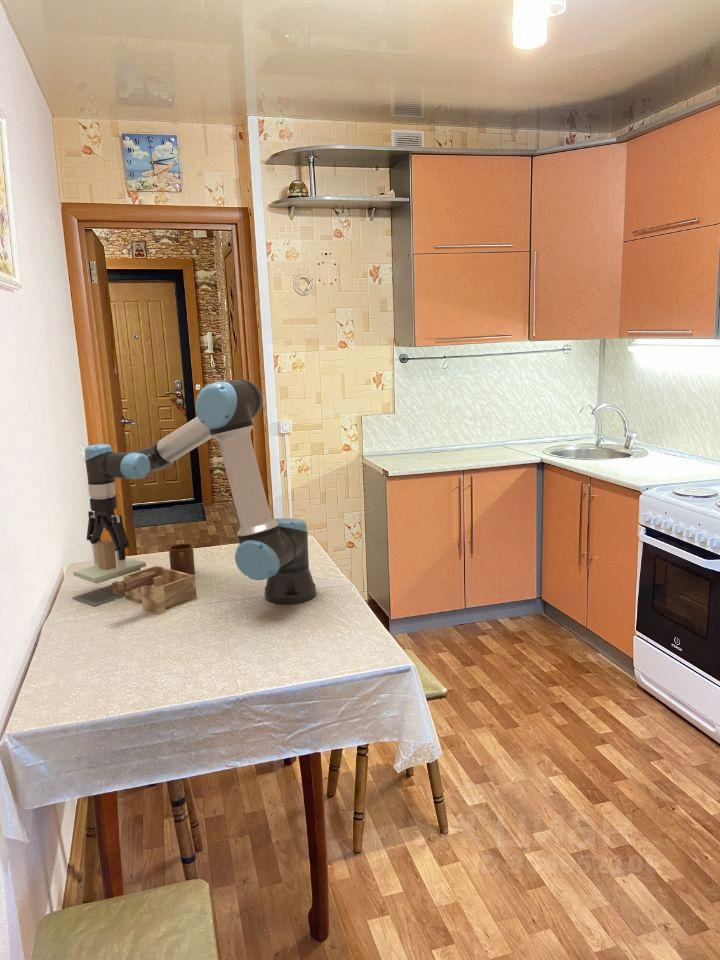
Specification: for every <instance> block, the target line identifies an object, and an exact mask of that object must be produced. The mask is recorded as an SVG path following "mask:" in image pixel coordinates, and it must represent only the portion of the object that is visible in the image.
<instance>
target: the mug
mask: <svg viewBox="0 0 720 960" xmlns="http://www.w3.org/2000/svg"><path fill="white" fill-rule="evenodd" d="M168 552H169V553H168V555H169V565H170V569H172V570H175V571H179V572H183V573H187V574H191V575H194V574H195V556H194V548H193V545H192V544H191V543H178V544H173V545H171V546H169V549H168Z"/></svg>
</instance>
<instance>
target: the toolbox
mask: <svg viewBox="0 0 720 960" xmlns="http://www.w3.org/2000/svg"><path fill="white" fill-rule="evenodd" d="M148 572H155V573H156V574H157V577H155V578H153V583H151V584H148V585H145V586H142V587H139V588H136V589H133V590H130V591H127V592H125V596H124V598H125V600H129V601H132V602H134V603H138V604H141V605H142V610H144V611H147V612H150V613H152V614H156V615H161V614H164V613H166V611H167V610H170V609H172V608H175V607H177V606H180V605H184V604H185V603H188V602H190V601H193V600H196V599H198V598H197V584H196V575H194V574H193V575H191V574H187V573H183V572H179V571H175V570H172V569H171V568H168V567H164V566H160V565H155V566H151V567H148V568H144V569H142V570H139V571H136V572H132V573H129V574H126V575H123V576H122V577H123V580H126V579H129V578H133V577H136V576H139V575H142V574H145V573H148Z"/></svg>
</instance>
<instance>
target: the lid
mask: <svg viewBox="0 0 720 960" xmlns="http://www.w3.org/2000/svg"><path fill="white" fill-rule="evenodd" d="M97 549H98V559H99V564H97V565H95V564H93V565H91V566H88V567H84V568H80V569H78V570H74V571H73V577H78V578H79V579H82V580H84V581H87V582H90V583H94V584H101V583H103V582H106V581H109V580H113V579H116V578H117V579H118V578H119V577H123V576H126V575H129V574H132V573H135V572H139V571H142V570H141V568H146V567H147V562H145V561H141V560H138V559H134V558H130V557H127V556H125V562H126V569H125V570H122V571H119V572H118V571H117V567H116V557H115V549H116V547H115V544H114V542H113V540H112V538H110V539H106V540H103V541H102V540H101V541H99V542H98V543H97Z"/></svg>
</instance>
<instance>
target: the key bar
mask: <svg viewBox="0 0 720 960" xmlns="http://www.w3.org/2000/svg"><path fill="white" fill-rule="evenodd" d="M155 577H157V574H156V573H155V572H148V573H145V574H142V575H139V576H136V577H133V578H129V579H126V580H124V579H123V580H121V581H118V580H116V581H112V582H111V585H112V586H113V593H115V594H118V595H123V594H125V592H127V591H130V590H133V589H136V588H139V587H142V586H145V585H148V584H151V583H153V578H155Z"/></svg>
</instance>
